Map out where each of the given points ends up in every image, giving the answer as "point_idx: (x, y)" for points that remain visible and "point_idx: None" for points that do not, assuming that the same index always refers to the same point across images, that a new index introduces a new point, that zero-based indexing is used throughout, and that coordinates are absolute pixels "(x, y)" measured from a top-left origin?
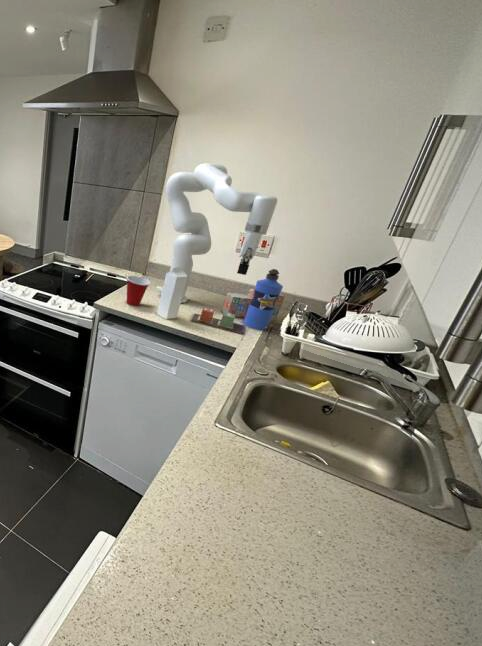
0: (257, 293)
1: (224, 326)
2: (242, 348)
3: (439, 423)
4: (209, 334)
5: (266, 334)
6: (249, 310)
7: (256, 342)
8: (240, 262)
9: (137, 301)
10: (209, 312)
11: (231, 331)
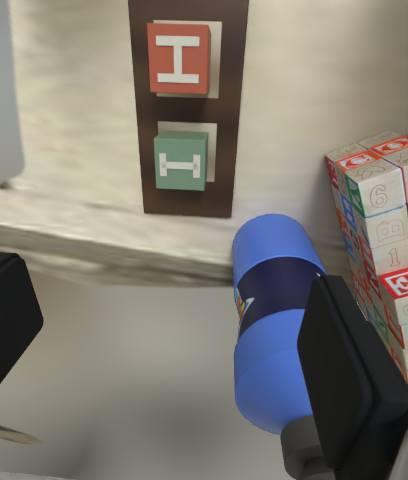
0: (261, 310)
1: None
2: (23, 207)
3: (12, 432)
4: (43, 97)
5: (206, 273)
6: (261, 246)
7: (110, 244)
8: (349, 334)
9: None
10: (149, 69)
11: (142, 175)
